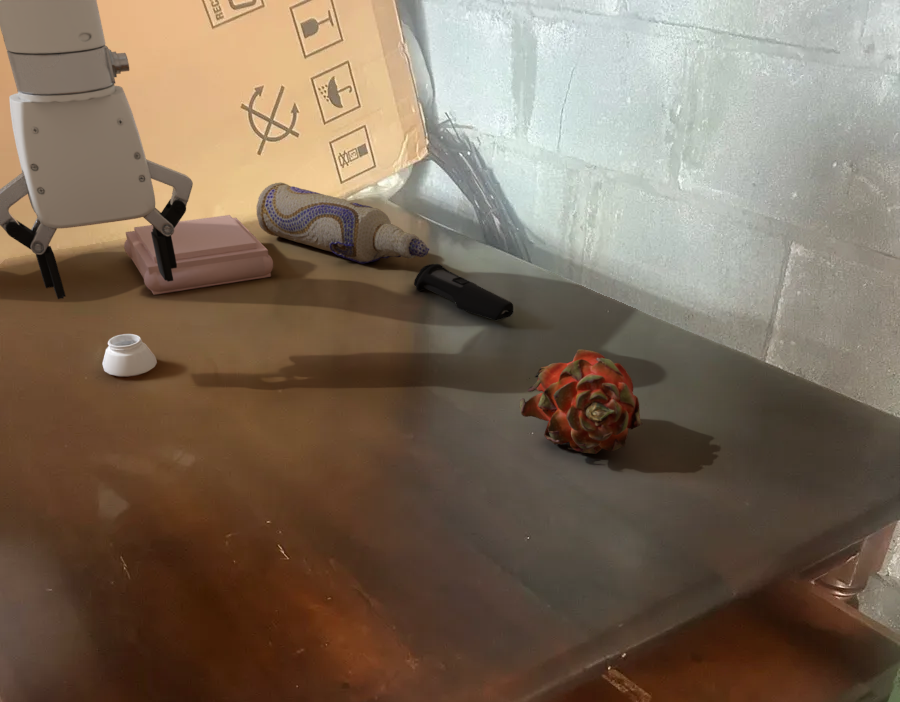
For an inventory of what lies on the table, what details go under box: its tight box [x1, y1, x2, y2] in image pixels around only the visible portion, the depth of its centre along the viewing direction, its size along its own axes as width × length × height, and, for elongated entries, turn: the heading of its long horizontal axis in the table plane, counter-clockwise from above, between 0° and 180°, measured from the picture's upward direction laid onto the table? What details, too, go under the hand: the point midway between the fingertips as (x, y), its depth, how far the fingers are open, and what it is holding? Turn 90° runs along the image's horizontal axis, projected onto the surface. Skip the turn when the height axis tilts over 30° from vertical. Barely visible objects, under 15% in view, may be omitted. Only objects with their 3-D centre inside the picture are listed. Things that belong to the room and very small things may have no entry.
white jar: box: [101, 333, 158, 378], centre depth 89 cm, size 5×3×5 cm
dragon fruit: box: [519, 348, 643, 455], centre depth 76 cm, size 8×8×12 cm
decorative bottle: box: [256, 182, 430, 265], centre depth 114 cm, size 26×8×7 cm, turn 52°
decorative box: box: [123, 214, 274, 296], centre depth 111 cm, size 15×15×4 cm
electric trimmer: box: [413, 263, 514, 321], centre depth 101 cm, size 4×16×3 cm, turn 36°
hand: (114, 285), depth 84 cm, fingers open, 9 cm apart
